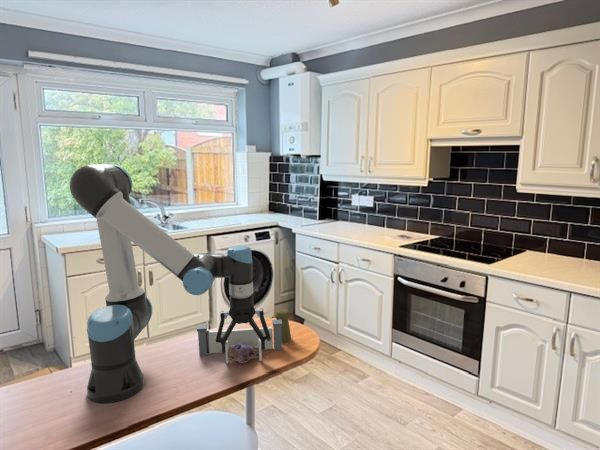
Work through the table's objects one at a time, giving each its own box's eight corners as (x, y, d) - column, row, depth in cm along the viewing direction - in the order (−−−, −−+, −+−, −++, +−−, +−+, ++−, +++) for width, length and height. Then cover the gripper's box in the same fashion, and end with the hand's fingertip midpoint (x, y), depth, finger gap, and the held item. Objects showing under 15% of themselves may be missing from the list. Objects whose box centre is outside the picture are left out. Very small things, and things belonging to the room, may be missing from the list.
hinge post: (198, 356, 141) (196, 329, 140) (199, 351, 145) (197, 324, 143) (208, 355, 142) (206, 328, 140) (208, 351, 145) (207, 324, 144)
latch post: (273, 351, 144) (272, 324, 143) (272, 346, 148) (272, 320, 146) (282, 350, 145) (282, 323, 143) (282, 345, 148) (281, 319, 147)
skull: (256, 350, 144) (256, 333, 143) (268, 359, 138) (267, 341, 137) (224, 360, 138) (223, 342, 137) (234, 369, 131) (234, 351, 130)
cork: (273, 336, 156) (273, 308, 154) (289, 335, 157) (289, 307, 155) (275, 343, 150) (275, 314, 148) (292, 342, 151) (291, 313, 149)
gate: (206, 355, 142) (205, 333, 140) (207, 352, 144) (206, 330, 143) (273, 350, 144) (272, 329, 143) (272, 347, 147) (271, 326, 145)
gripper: (204, 300, 128) (207, 368, 132) (277, 296, 131) (279, 363, 135) (206, 292, 136) (209, 357, 139) (276, 289, 138) (277, 352, 142)
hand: (244, 360), depth 137 cm, fingers closed on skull, 10 cm apart
